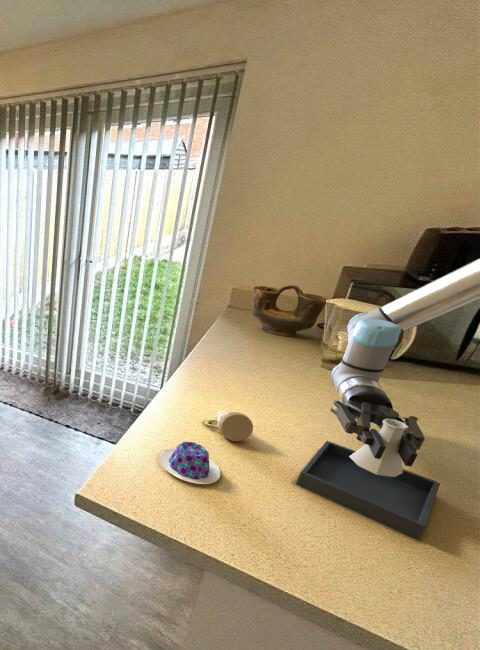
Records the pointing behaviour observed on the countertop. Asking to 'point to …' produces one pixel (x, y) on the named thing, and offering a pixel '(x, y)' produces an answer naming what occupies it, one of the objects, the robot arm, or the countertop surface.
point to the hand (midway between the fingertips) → (395, 456)
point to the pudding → (190, 463)
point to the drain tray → (370, 490)
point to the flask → (390, 457)
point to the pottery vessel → (286, 320)
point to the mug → (232, 425)
